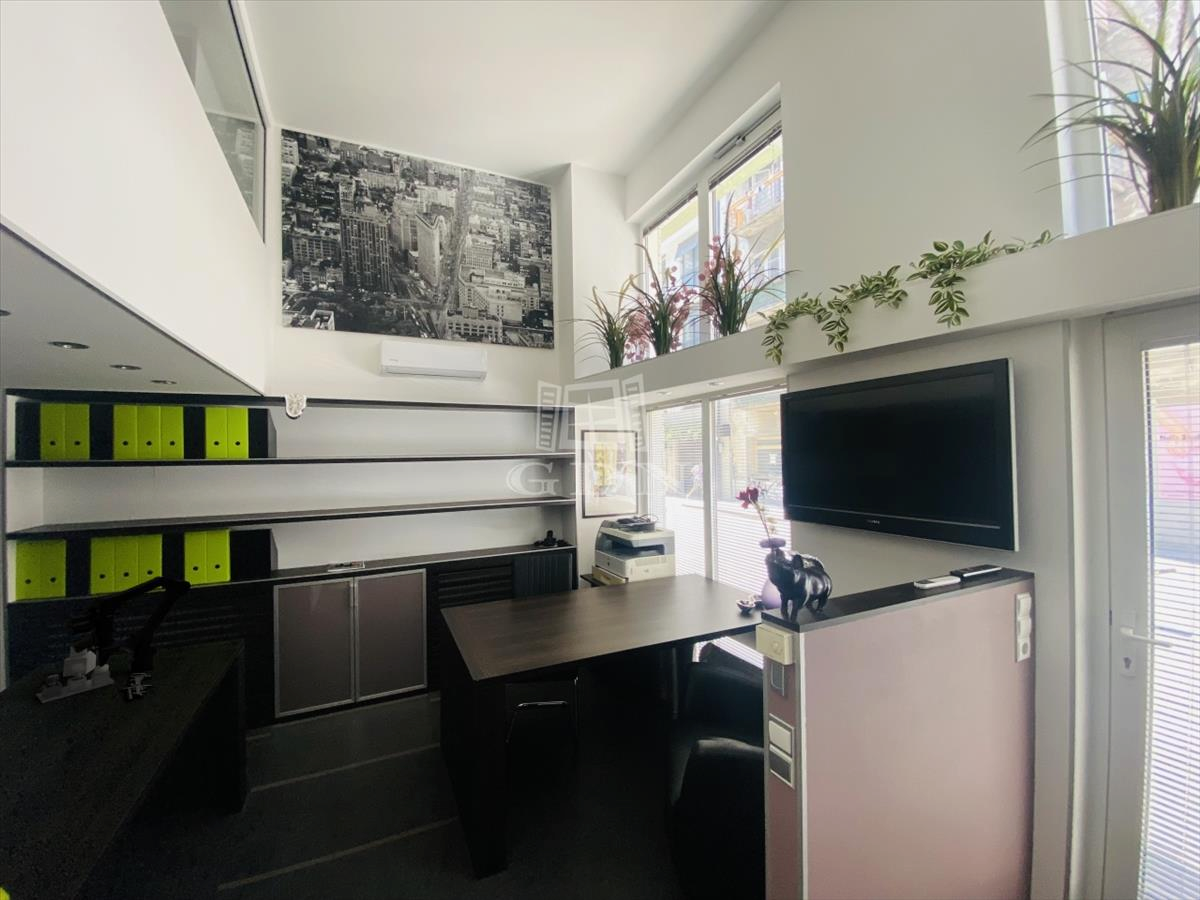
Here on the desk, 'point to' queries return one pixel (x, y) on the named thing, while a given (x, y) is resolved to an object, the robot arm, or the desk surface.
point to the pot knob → (52, 680)
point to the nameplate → (137, 686)
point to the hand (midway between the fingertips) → (101, 666)
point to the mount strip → (74, 687)
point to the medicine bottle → (79, 661)
